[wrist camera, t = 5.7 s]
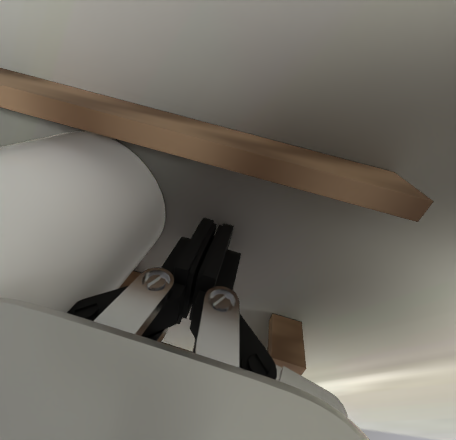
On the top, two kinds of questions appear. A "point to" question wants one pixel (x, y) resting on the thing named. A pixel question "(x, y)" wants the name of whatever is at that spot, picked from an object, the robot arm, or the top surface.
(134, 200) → the pill bottle
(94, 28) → the top surface
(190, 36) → the top surface
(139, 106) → the wooden frame
